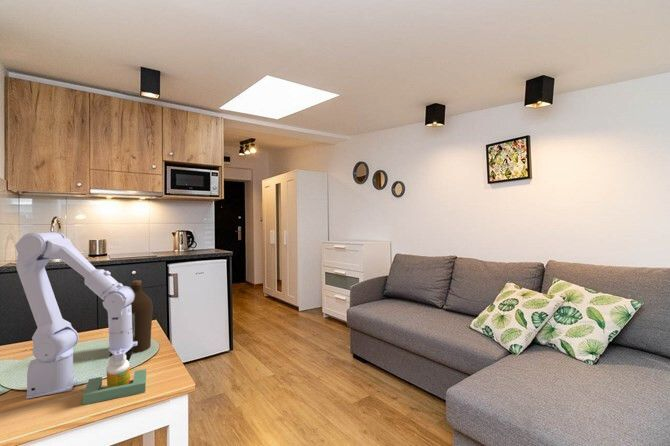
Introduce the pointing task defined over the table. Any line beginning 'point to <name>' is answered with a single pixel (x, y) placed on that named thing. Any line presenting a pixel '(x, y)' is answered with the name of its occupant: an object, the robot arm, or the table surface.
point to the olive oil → (141, 318)
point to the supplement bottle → (118, 372)
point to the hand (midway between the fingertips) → (122, 376)
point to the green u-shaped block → (113, 389)
